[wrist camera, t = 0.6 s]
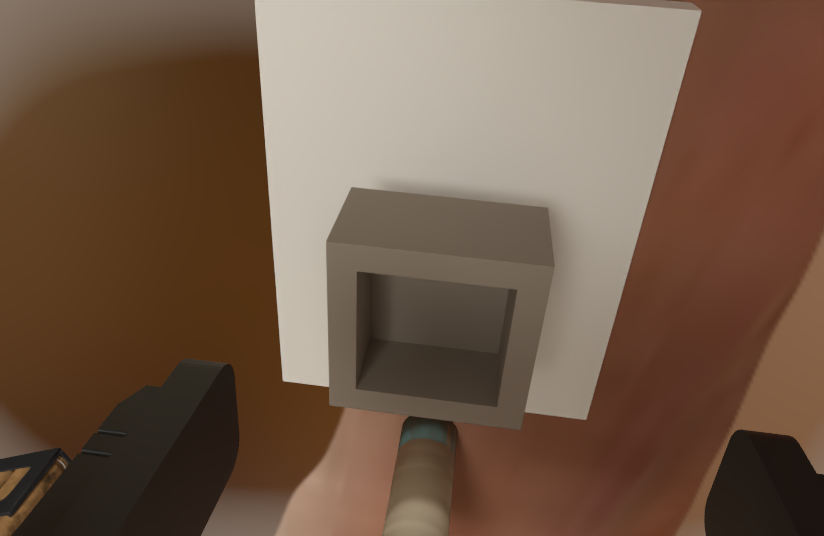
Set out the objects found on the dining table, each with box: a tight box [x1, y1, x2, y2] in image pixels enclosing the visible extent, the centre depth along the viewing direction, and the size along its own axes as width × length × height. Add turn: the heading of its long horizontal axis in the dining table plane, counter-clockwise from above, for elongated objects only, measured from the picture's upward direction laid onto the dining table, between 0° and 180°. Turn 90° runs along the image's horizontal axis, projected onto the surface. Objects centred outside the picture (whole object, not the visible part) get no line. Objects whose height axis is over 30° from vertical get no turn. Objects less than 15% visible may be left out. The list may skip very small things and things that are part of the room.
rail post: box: [382, 416, 457, 536], centre depth 32 cm, size 3×3×12 cm
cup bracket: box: [255, 0, 702, 430], centre depth 26 cm, size 20×16×9 cm
